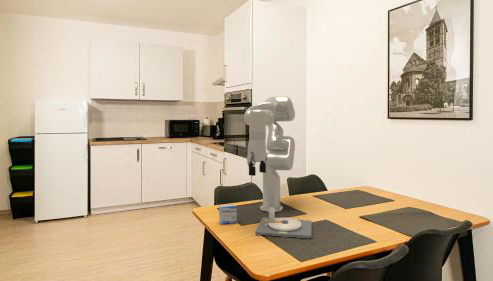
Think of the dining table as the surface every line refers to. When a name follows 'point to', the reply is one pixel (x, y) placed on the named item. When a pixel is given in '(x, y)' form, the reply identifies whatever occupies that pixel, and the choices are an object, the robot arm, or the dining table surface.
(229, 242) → the dining table surface
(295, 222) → the dial
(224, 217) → the medicine box
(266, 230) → the dial board
